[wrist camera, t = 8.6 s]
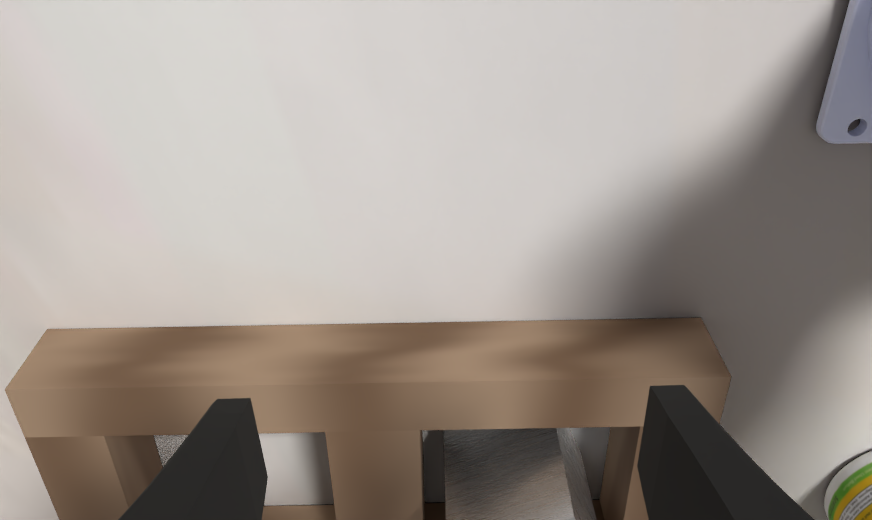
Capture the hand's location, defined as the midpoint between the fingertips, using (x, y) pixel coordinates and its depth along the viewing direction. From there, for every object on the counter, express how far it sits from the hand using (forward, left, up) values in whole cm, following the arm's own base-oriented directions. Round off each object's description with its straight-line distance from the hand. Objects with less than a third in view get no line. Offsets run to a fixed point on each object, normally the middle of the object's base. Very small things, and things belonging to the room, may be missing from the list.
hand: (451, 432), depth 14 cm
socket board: (+2, +11, -10) cm, 15 cm away
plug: (-3, +11, -10) cm, 15 cm away
